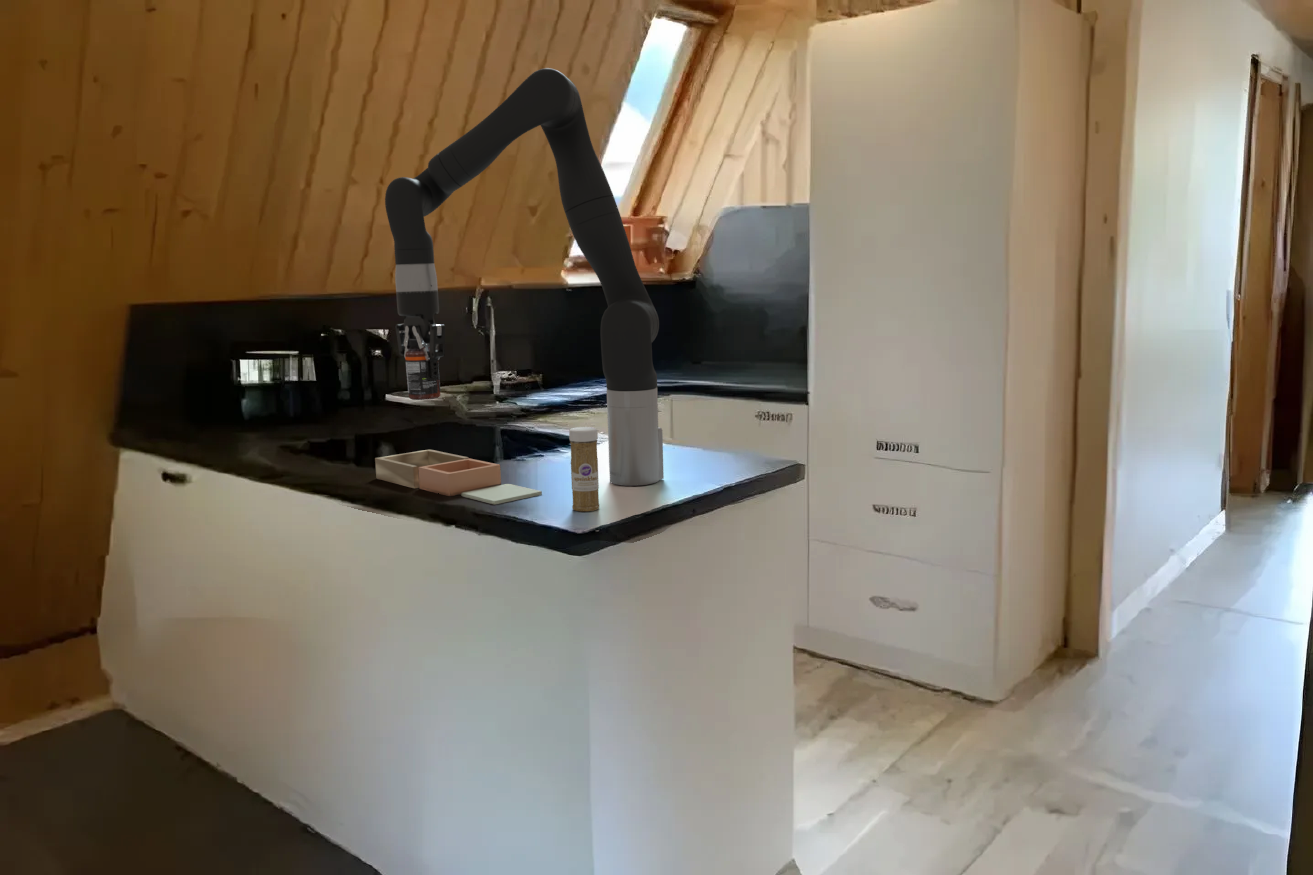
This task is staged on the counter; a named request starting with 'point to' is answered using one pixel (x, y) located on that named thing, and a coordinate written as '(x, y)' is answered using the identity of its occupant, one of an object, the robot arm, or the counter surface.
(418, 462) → the beige open box
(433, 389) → the supplement bottle
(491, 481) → the pink open box
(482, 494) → the pad
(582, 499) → the sprinkles bottle
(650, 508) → the counter surface
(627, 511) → the counter surface
